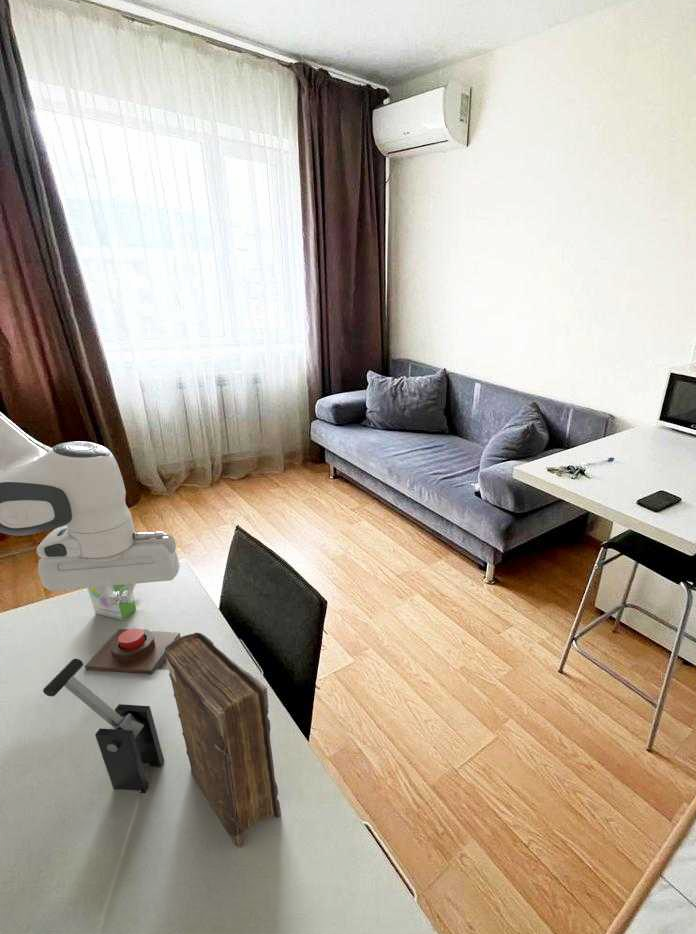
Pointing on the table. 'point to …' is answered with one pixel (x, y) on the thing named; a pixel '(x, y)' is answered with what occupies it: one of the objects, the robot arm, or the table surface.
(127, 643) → the button
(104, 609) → the ink box
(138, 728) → the lever
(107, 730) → the bracket
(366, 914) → the table surface
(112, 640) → the button block
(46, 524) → the robot arm
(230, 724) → the book
